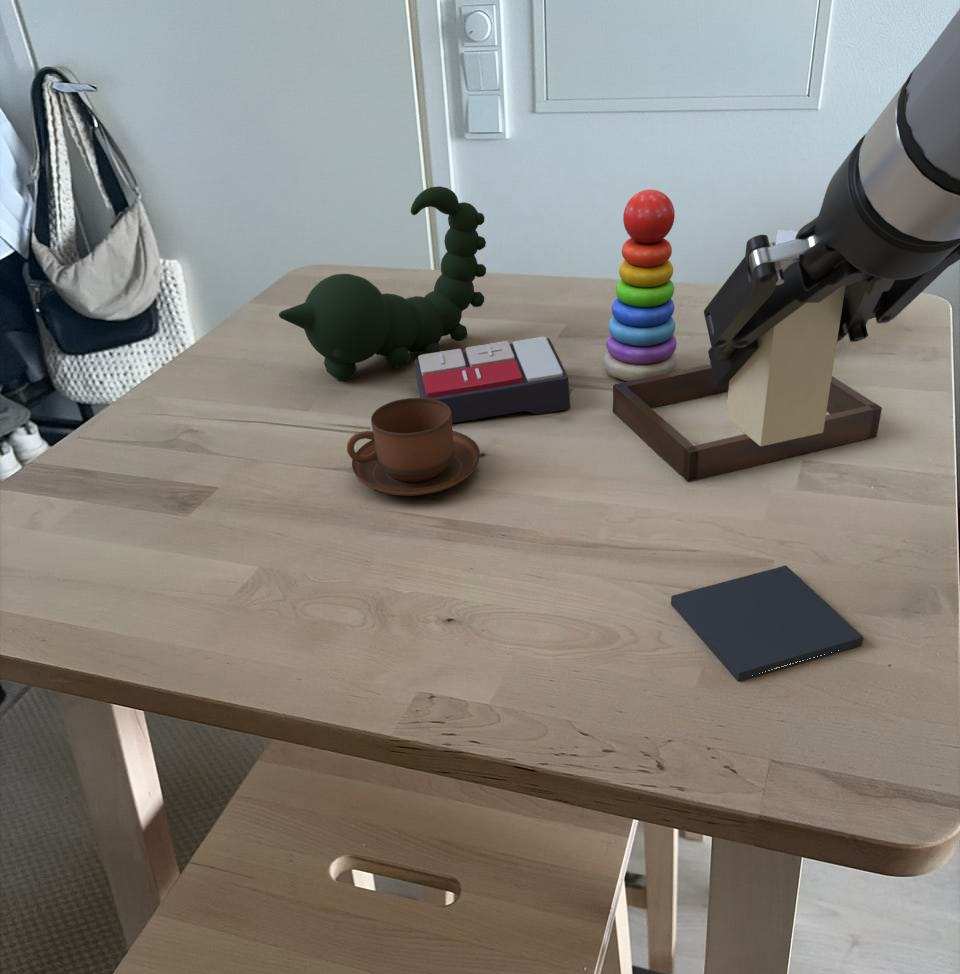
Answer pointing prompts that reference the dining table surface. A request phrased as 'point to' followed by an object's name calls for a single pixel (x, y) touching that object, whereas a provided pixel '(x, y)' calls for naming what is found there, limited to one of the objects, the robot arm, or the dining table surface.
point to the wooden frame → (637, 397)
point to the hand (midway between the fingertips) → (756, 362)
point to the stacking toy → (644, 293)
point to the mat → (765, 622)
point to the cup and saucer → (413, 449)
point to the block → (788, 375)
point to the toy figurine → (396, 301)
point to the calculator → (495, 379)
